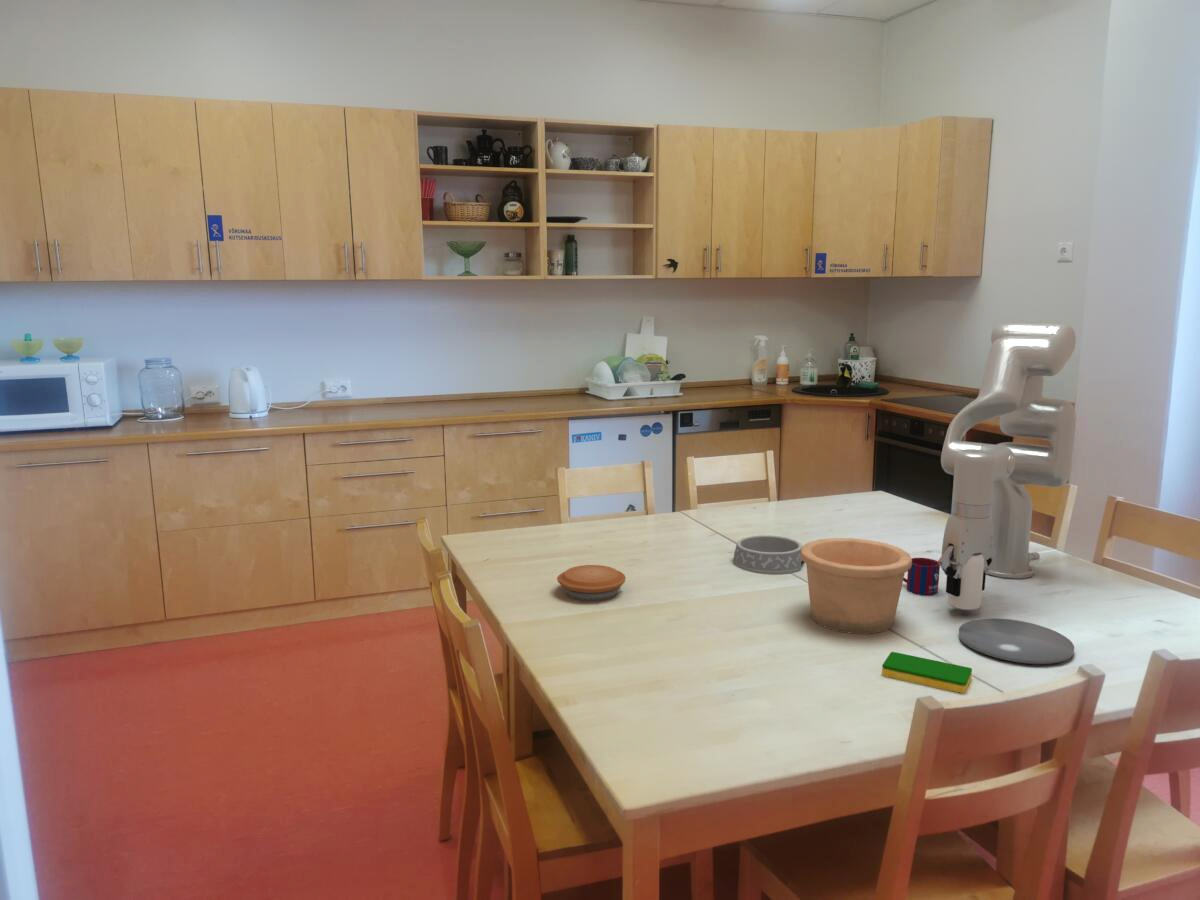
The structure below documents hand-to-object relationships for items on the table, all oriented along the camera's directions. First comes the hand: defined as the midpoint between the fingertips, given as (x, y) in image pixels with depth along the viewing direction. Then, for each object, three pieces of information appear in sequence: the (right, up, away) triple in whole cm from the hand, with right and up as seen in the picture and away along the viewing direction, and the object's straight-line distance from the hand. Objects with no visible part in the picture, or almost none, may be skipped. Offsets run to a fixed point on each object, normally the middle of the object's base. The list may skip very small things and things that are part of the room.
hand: (965, 590), depth 180 cm
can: (0, -3, +1) cm, 3 cm away
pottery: (-25, -6, -2) cm, 25 cm away
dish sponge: (-19, -11, -29) cm, 37 cm away
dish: (+3, -8, -15) cm, 18 cm away
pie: (-79, -3, +14) cm, 80 cm away
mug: (-5, -2, +16) cm, 17 cm away
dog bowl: (-35, +1, +35) cm, 49 cm away
